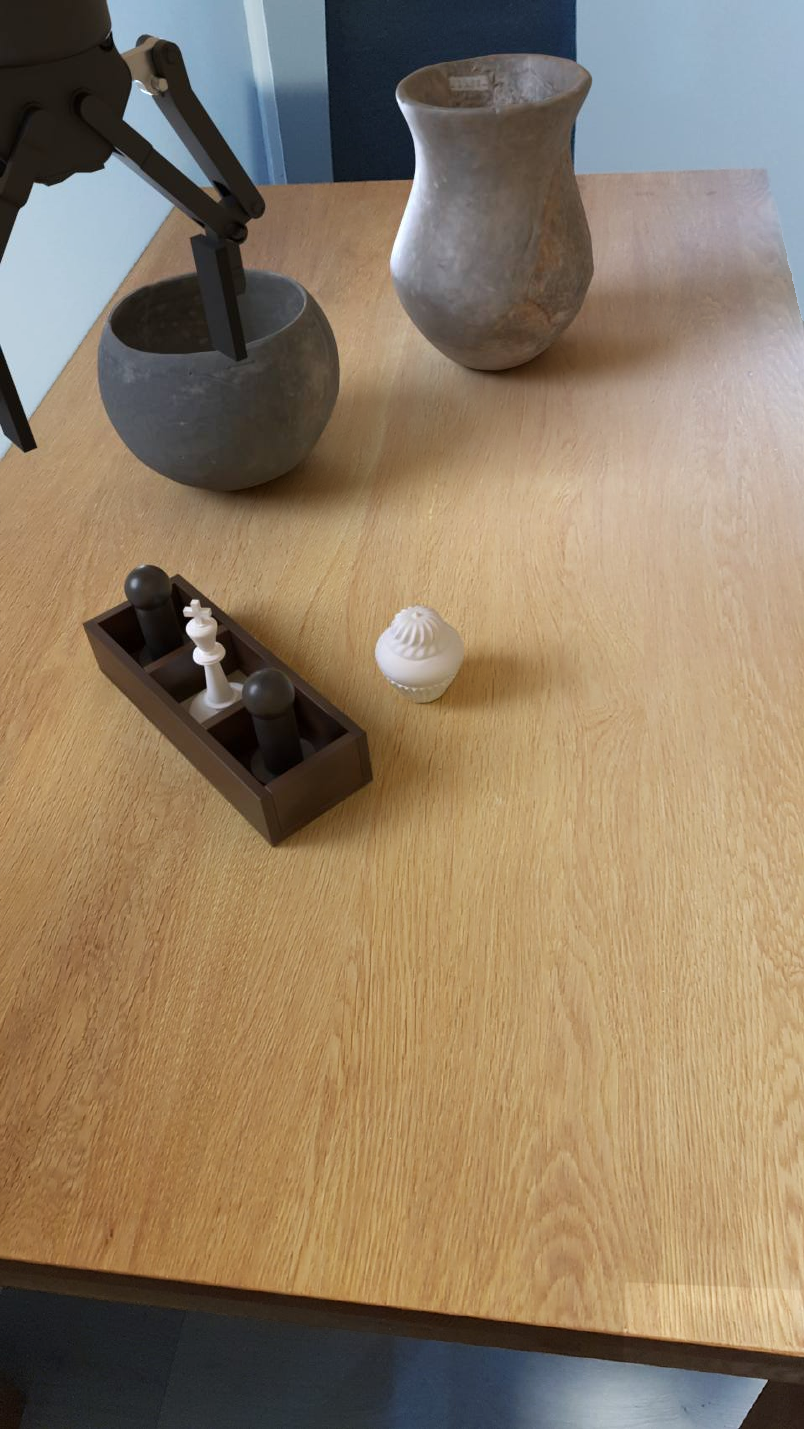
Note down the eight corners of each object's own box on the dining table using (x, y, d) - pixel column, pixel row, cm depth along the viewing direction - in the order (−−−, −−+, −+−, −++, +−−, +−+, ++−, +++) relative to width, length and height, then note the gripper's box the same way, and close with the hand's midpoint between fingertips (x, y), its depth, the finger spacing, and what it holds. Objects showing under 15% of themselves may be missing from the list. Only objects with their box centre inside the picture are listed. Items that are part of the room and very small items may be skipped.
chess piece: (202, 686, 77) (170, 575, 70) (268, 691, 76) (242, 579, 69) (180, 736, 73) (144, 625, 66) (250, 741, 72) (220, 629, 65)
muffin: (416, 647, 79) (409, 571, 74) (483, 679, 76) (481, 603, 71) (361, 695, 76) (350, 620, 71) (429, 731, 73) (423, 655, 68)
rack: (273, 847, 67) (260, 800, 64) (99, 670, 80) (81, 623, 77) (373, 780, 70) (366, 731, 67) (191, 620, 83) (178, 573, 80)
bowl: (339, 528, 90) (314, 362, 80) (103, 535, 92) (48, 373, 82) (360, 404, 104) (342, 249, 94) (156, 413, 107) (115, 262, 96)
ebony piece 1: (161, 694, 77) (130, 599, 71) (131, 664, 79) (98, 569, 73) (213, 665, 79) (186, 569, 72) (182, 636, 81) (153, 541, 75)
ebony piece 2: (278, 809, 68) (254, 712, 62) (240, 771, 71) (213, 675, 65) (333, 773, 70) (315, 675, 64) (294, 738, 73) (273, 640, 66)
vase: (362, 354, 112) (332, 86, 94) (501, 294, 119) (498, 35, 101) (485, 425, 100) (478, 135, 82) (631, 354, 107) (654, 73, 90)
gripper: (-272, 24, 39) (-52, 512, 54) (290, -103, 49) (343, 339, 64) (-321, -3, 43) (-105, 456, 58) (204, -115, 53) (273, 302, 68)
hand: (130, 395), depth 61 cm, fingers open, 13 cm apart
